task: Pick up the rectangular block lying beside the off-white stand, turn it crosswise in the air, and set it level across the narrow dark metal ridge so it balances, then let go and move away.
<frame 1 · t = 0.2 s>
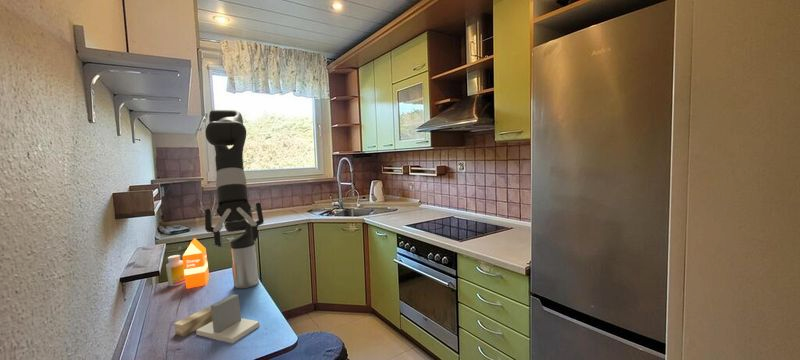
hand: (237, 243, 88), 31 cm above the table, tool tilted 20°, fingers open, 8 cm apart
orange juice: (198, 283, 147), on the table
rectangular block: (209, 320, 112), on the table
supplement bottle: (177, 284, 149), on the table
stand: (228, 330, 104), on the table
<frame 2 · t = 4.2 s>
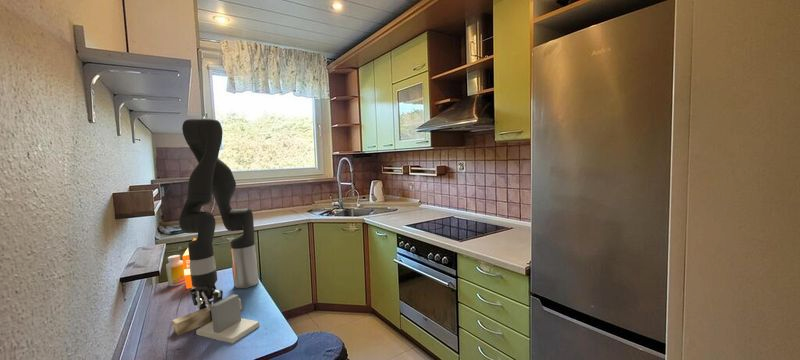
hand: (209, 318, 111), 1 cm above the table, tool pointing down, fingers closed on rectangular block, 4 cm apart
rectangular block: (209, 320, 112), on the table, touching gripper
everything else where it was.
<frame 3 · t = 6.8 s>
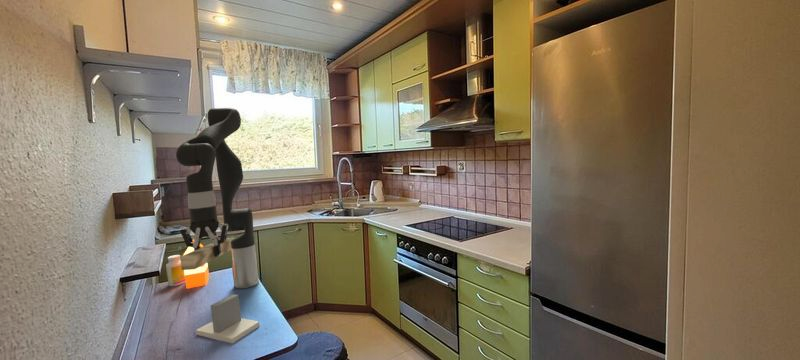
hand: (208, 257, 106), 23 cm above the table, tool pointing down, fingers closed on rectangular block, 4 cm apart
rectangular block: (208, 259, 106), point 22 cm above the table, touching gripper
everything else where it was.
when the fingers open (11 cm above the table, at t = 9.7 s): rectangular block stays where it is, resting on stand.
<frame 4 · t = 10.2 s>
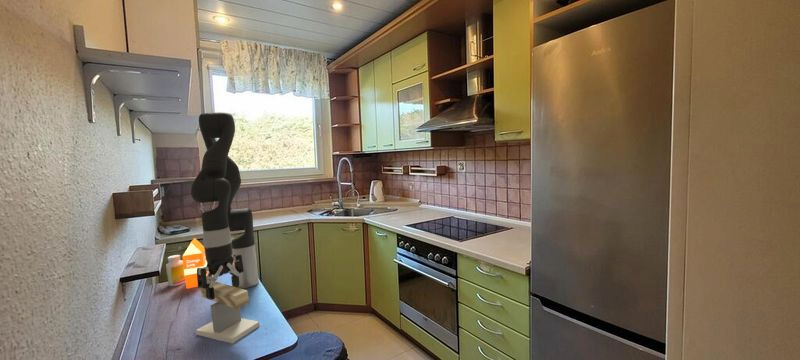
hand: (224, 293, 103), 12 cm above the table, tool pointing down, fingers open, 8 cm apart
rectangular block: (224, 299, 103), point 10 cm above the table, touching stand
everything else where it was.
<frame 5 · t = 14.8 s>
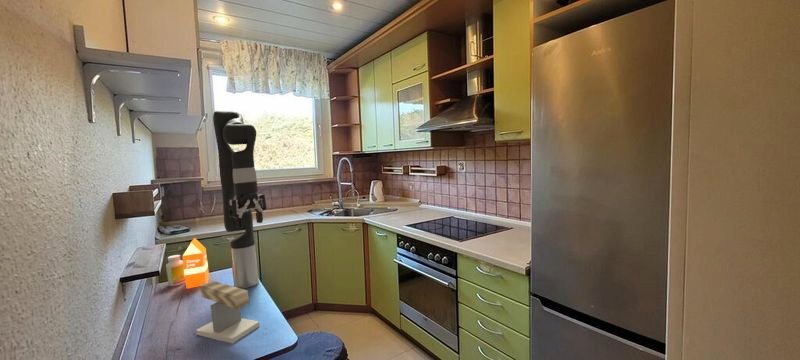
hand: (250, 225, 117), 30 cm above the table, tool pointing down, fingers open, 8 cm apart
nothing on the table moved.
at the end: rectangular block 0.2 cm off-centre on the stand, point 10.0 cm above the stand's base; rectangular block tilted 0°; rectangular block touching stand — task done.
